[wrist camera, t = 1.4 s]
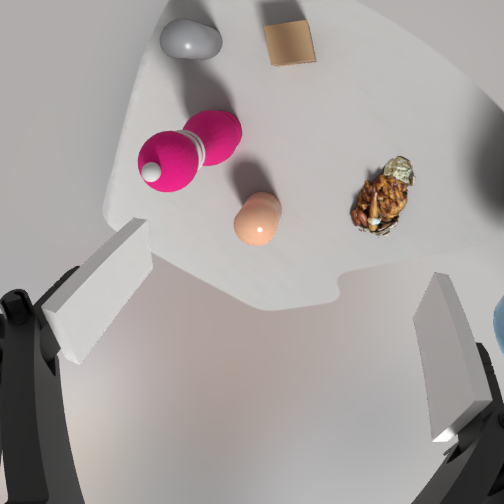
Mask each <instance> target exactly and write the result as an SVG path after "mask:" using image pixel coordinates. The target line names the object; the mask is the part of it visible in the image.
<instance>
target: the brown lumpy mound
mask: <svg viewBox="0 0 504 504" xmlns="http://www.w3.org/2000/svg"><path fill="white" fill-rule="evenodd" d="M412 170H413V166H412V164H411V162H410V161H408V160H405V159H403V158H401V157H399V156H398V157H397V158H396V159H395V160H393V158H392V159H391V160H389V162H388V163H387V164H386V165H385V169H384V174H383V175H380V176H379V177H377V179H376V180H375V182H374V183H373V185H372V186H371V185H370V183H369V182H368V181H365V184H364V187H363V188H362V190H361V192H360V194H359V197H358V201H359V202H358V205H357V207H356V209H355V211H354V210H352V212H351V215H350V216H351V220H352V223H353V224H354V225H355V226H359V227H361V228H362V229H363V231H364V230H370V232H371V233H373V234H375V235H377V236H380V237H382V236H387V235H388V234H389V233H390V231H389V230H390V229H391V228H392V227H395V226H396V225H397V223H398V221H399V217H400V214H401V213H402V211H403V210H404V208H405V206H406V203H407V198H408V194H407V191H408V190H407V188H406V187H407V186H412V185H413V183H414V181H415V176H414V175H413V174H412V173H411V172H412ZM408 178H409V179H408ZM384 227H386V228H385V229H383V230H381V231H378V230H379V229H381V228H384ZM359 230H360V229H359ZM360 231H362V230H360ZM364 232H366V231H364ZM378 238H379V237H378Z"/></svg>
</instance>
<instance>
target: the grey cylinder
mask: <svg viewBox="0 0 504 504" xmlns="http://www.w3.org/2000/svg"><path fill="white" fill-rule="evenodd" d="M160 45H161V48H162V50H163V51H164V52H165V53H166V54H167V55H168V56H170V57H174V58H188V59H201V60H206V59H210V58H212V57H214V56H215V55H217V54H218V52H219V51H220V49H221V47H222V37H221V35H220V33H219V32H218V31H217V30H216V29H214V28H212V27H209V26H206V25H203V24H200V23H197V22H194V21H191V20H188V19H177V20H174V21H172V22H170V23H169V24H168V25H167V26H166V27H165V28H164V29H163V31H162V33H161V37H160Z"/></svg>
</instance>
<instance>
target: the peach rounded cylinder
mask: <svg viewBox="0 0 504 504" xmlns="http://www.w3.org/2000/svg"><path fill="white" fill-rule="evenodd" d="M281 215H282V207H281V204H280V202H279V200H278V199H277V198H276V197H275V196H274V195H272V194H270V193H268V192H256V193H254V194H252V195H251V196H250V197H249V198H248V199H247V201H246V202H245V204H244V205H243V207H242V208H241V210H240V211H239V213H238V214H237V216H236V217H235V220H234V230H235V232H236V234H237V236H238V237H239V238H240V239H241V240H242V241H243V242H245V243H247V244H249V245H253V246H261V245H264V244H266V243H268V242H269V241H270V240H271V239H272V238H273V236H274V234H275V231H276V228H277V226H278V223H279V220H280V217H281Z"/></svg>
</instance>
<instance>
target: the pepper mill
mask: <svg viewBox="0 0 504 504" xmlns="http://www.w3.org/2000/svg"><path fill="white" fill-rule="evenodd" d="M241 137H242V129H241V125H240V123H239V121H238V119H237V118H236V117H235V116H234V115H232V114H231V113H229V112H226V111H212V110H208V111H203V112H200V113H198V114H196V115H194V116H193V117H191V118H190V119H189V120H188V121H187V123H186V124H185V126H184V128H183V130H177V131H164V132H160V133H157V134H155V135H154V136H152V137H151V138H149V139H148V140H147V141H146V142H145V143H144V145H143V146H142V148H141V150H140V152H139V156H138V169H139V172H140V175H141V176H142V178H143V180H144V181H145V182H146V183H147V184H148V185H149V186H150V187H152V188H153V189H155V190H157V191H160V192H174V191H177V190H180V189H182V188H184V187H185V186H187V185H188V184H189V183H190V182H191V181H192V180H193V178H194V176H195V175H196V173H197V171H198V170H199V169H200V168H201V166H202V165H203V166H211V165H216V164H219V163H221V162H223V161H225V160H227V159H228V158H229V157H230V156H231V155H232V154H233V152H234V151H235V148H236V147H237V145H238V144H239V142H240V140H241Z"/></svg>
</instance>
